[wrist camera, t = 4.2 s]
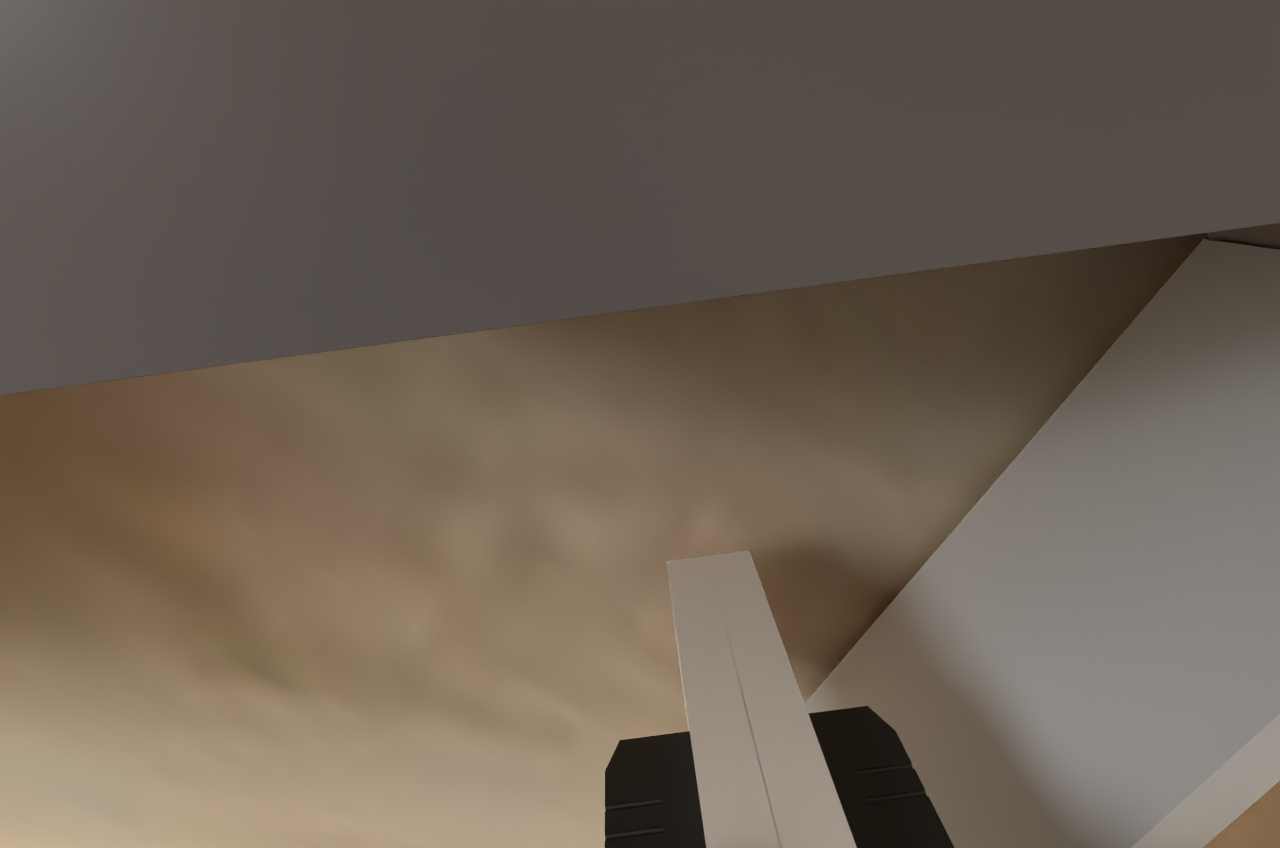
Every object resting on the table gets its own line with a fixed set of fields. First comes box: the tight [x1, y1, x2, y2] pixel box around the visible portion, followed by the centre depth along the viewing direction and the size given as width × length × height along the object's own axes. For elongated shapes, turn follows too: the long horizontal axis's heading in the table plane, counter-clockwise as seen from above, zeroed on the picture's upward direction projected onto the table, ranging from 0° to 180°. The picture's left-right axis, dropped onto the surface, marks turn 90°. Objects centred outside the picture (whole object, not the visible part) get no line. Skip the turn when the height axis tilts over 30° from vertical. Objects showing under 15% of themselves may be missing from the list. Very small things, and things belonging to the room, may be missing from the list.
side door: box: [805, 223, 1280, 848], centre depth 12 cm, size 14×2×6 cm, turn 147°
